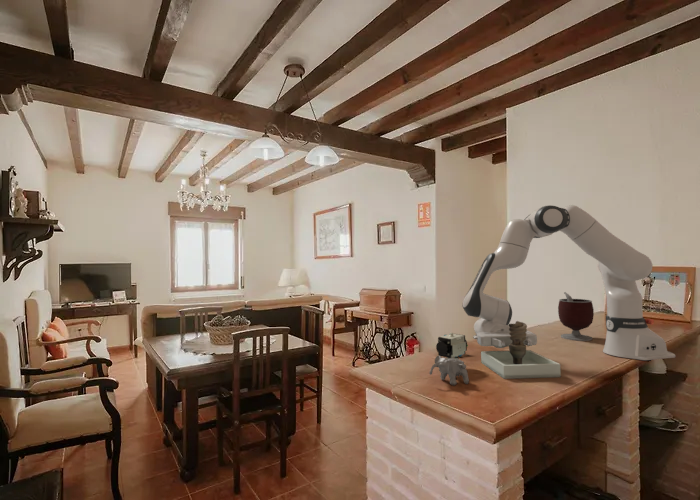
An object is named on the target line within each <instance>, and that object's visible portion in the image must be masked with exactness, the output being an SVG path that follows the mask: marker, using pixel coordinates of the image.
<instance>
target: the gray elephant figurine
mask: <svg viewBox="0 0 700 500" xmlns="http://www.w3.org/2000/svg"><path fill="white" fill-rule="evenodd" d="M446 358H447V357H443V356H439V355H436V356H435V358H434V363H433V364H432V366H431V367H430V369H429V372H428V373H429V375H430V376H431V375H432V374H433V371H434V369H435V368H438V370H439V373H440V380H442V381H445V380H446V377H447V376H448V377H449V384H450V385H451V386H456V385H457V379H456V378H457V377H458V378H460V376H461V377H462V379H463V383H464V384H465V385H468V384H469V383H470V380H469V374H468V370H467V365H466V364H465V362H464V361H463V360H461V359H459V360H458V359H453V358H451V359H446Z"/></svg>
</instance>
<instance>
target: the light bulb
mask: <svg viewBox="0 0 700 500" xmlns="http://www.w3.org/2000/svg"><path fill="white" fill-rule="evenodd" d="M527 325H528V324H527V323H525V322H523V321H518V320H517V321H515V323H509V327H510V328H509V330H510V333H509V334H510V335H511V336H510V339H511V340H512V343H511V344H509V346H508V348H509V350H508V351H509V352H510V354H511V355H512V357H513V363H514V364H516V365H517V364H522V358H523V357H524V355H525V354H526V350H527V345H524V344H523V341H524V340H525V339H526V331H527V328H528V326H527Z"/></svg>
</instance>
